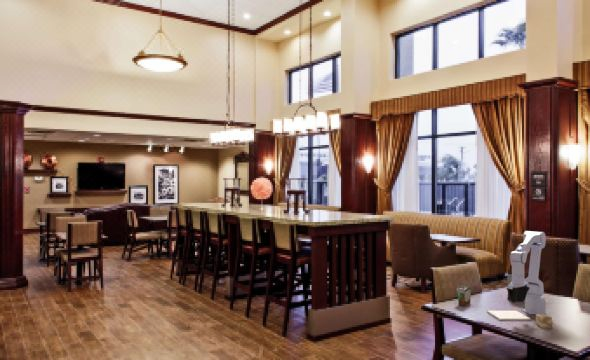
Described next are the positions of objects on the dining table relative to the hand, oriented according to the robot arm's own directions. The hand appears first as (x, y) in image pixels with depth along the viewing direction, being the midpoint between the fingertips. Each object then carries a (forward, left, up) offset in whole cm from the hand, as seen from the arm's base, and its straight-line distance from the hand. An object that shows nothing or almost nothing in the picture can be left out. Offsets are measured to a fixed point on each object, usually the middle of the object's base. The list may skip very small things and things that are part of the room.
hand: (518, 301), depth 221 cm
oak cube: (-8, +9, -10) cm, 15 cm away
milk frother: (-23, -37, -10) cm, 45 cm away
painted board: (+2, -6, -10) cm, 12 cm away
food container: (+17, -29, -10) cm, 35 cm away
